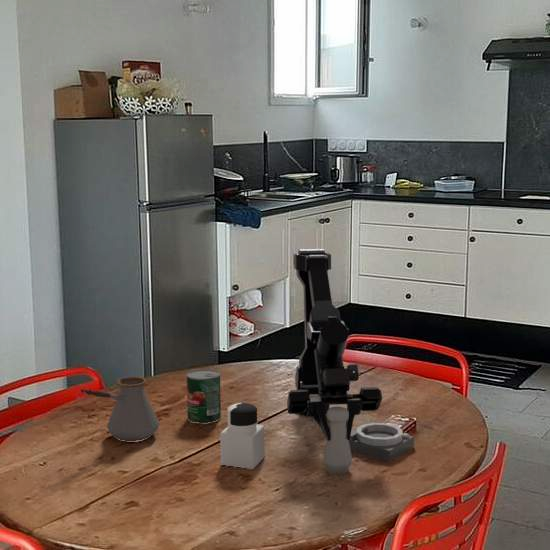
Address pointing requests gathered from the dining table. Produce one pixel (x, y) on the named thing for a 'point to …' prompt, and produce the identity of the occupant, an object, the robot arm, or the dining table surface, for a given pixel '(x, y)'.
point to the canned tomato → (203, 395)
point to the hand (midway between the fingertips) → (338, 439)
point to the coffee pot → (130, 410)
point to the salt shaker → (337, 442)
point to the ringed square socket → (380, 441)
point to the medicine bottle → (242, 437)
